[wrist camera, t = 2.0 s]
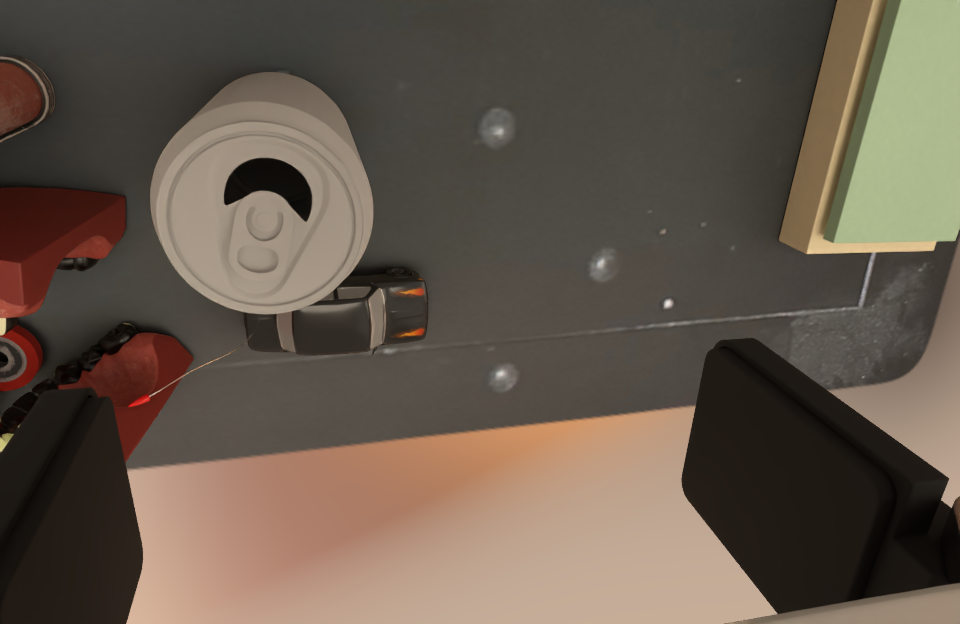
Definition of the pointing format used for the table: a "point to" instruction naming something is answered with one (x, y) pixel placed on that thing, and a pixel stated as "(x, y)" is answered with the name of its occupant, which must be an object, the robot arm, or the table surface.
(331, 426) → the table surface
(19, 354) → the fidget spinner
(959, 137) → the pan
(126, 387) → the teeth
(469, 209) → the table surface
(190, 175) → the beverage can
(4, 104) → the lighter
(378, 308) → the toy car
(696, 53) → the table surface
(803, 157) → the scale
